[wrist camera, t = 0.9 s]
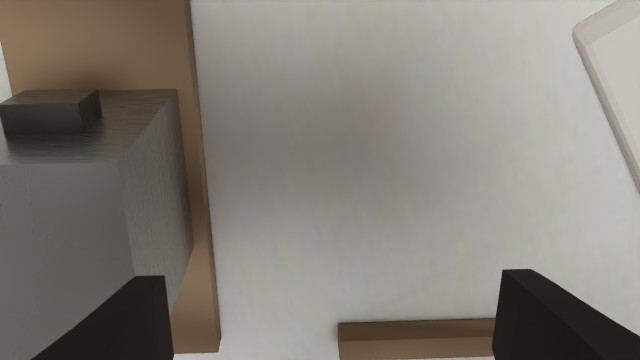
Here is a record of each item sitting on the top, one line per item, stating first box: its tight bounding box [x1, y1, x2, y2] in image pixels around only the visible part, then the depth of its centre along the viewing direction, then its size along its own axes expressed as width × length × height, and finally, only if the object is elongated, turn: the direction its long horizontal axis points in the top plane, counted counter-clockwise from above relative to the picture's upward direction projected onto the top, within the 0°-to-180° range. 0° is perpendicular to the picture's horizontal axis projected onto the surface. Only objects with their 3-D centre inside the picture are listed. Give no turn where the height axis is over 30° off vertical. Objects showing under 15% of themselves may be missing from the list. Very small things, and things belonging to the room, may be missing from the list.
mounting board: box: [0, 0, 221, 354], centre depth 21 cm, size 14×6×1 cm, turn 0°
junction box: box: [0, 89, 194, 360], centre depth 17 cm, size 7×5×7 cm
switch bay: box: [338, 319, 496, 360], centre depth 20 cm, size 21×10×1 cm, turn 0°
